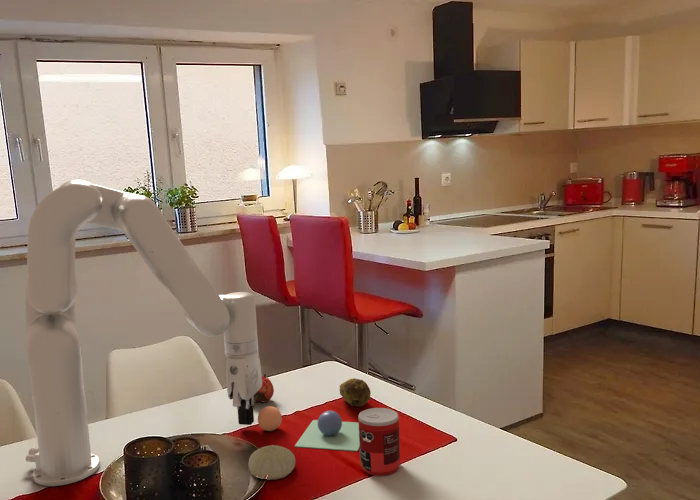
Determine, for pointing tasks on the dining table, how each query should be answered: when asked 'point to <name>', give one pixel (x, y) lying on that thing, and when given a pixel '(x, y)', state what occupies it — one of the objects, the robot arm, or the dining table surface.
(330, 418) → the blue ball
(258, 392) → the pomegranate
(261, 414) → the peach ball
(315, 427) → the green mark
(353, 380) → the potato
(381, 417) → the canned food
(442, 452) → the dining table surface
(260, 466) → the sea urchin shell
